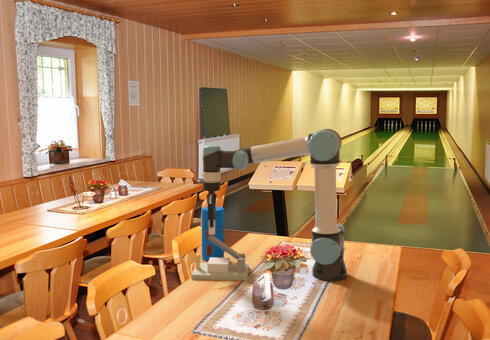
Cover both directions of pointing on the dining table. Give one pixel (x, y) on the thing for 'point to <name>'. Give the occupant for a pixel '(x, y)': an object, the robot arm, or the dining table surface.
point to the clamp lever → (224, 247)
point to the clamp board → (220, 275)
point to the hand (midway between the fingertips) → (211, 233)
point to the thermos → (207, 246)
